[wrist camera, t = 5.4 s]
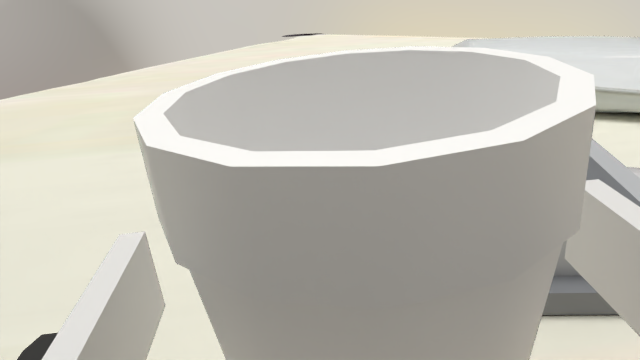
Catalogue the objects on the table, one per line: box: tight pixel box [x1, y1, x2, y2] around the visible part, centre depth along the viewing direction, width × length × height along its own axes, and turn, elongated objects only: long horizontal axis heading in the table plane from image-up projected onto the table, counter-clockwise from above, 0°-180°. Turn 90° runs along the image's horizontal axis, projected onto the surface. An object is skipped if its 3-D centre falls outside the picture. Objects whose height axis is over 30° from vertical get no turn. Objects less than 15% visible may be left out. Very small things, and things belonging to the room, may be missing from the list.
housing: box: [542, 139, 640, 315], centre depth 30 cm, size 20×18×4 cm
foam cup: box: [133, 46, 596, 360], centre depth 13 cm, size 10×9×13 cm
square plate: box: [452, 36, 640, 113], centre depth 58 cm, size 27×27×4 cm
